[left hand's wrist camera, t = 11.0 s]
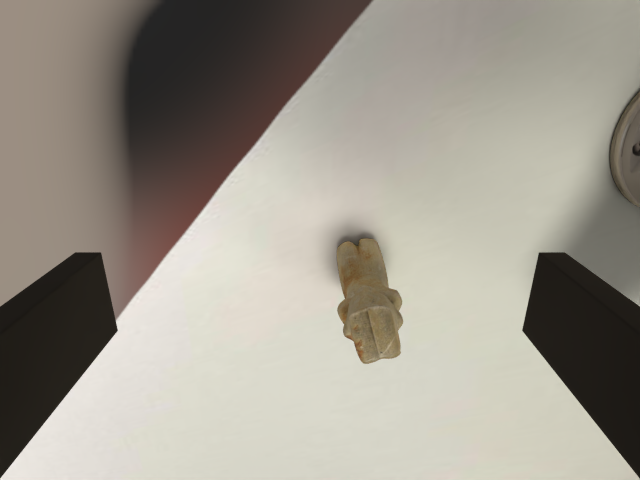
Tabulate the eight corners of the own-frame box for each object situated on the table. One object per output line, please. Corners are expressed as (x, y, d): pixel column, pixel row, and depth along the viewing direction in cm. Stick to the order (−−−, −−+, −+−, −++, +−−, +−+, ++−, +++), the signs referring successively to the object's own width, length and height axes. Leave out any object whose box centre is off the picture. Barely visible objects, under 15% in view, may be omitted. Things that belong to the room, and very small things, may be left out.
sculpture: (383, 230, 44) (412, 302, 30) (390, 289, 47) (420, 380, 33) (329, 239, 44) (333, 314, 30) (339, 297, 47) (347, 390, 33)
